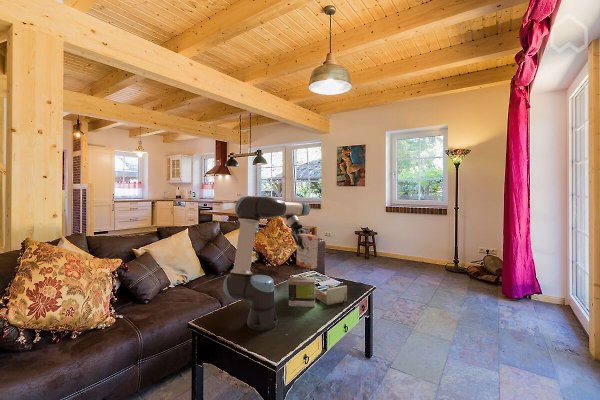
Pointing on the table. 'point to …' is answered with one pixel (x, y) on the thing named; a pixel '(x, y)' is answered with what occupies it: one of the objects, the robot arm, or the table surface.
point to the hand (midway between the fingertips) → (310, 252)
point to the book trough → (332, 294)
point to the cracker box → (312, 247)
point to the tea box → (302, 291)
